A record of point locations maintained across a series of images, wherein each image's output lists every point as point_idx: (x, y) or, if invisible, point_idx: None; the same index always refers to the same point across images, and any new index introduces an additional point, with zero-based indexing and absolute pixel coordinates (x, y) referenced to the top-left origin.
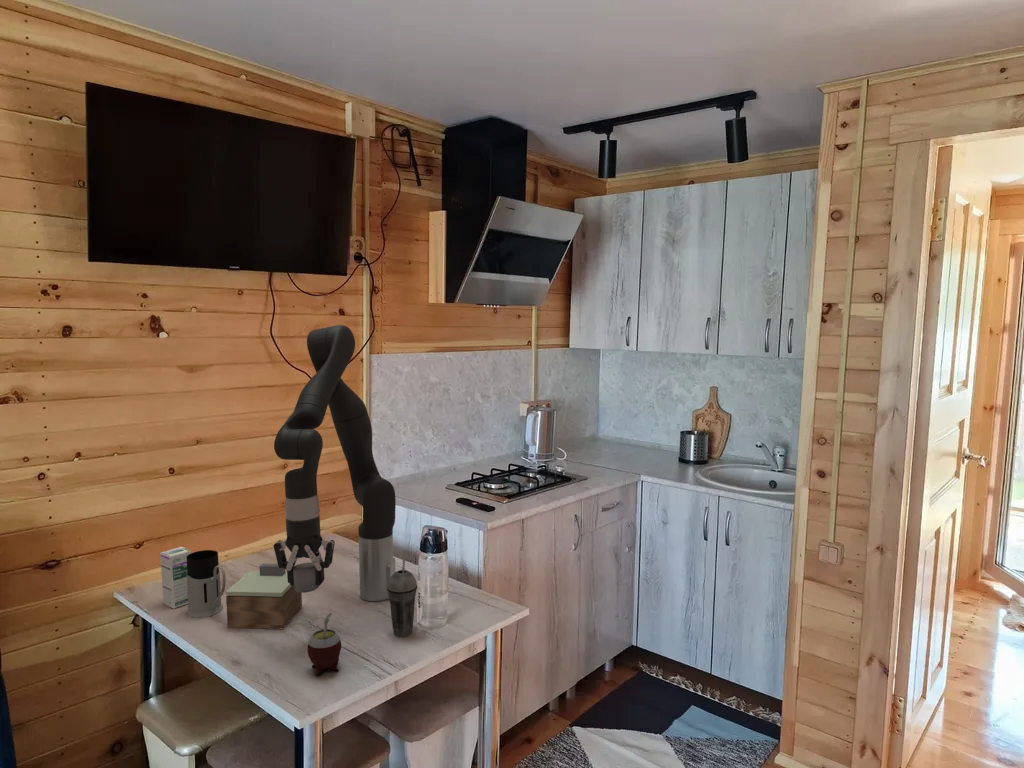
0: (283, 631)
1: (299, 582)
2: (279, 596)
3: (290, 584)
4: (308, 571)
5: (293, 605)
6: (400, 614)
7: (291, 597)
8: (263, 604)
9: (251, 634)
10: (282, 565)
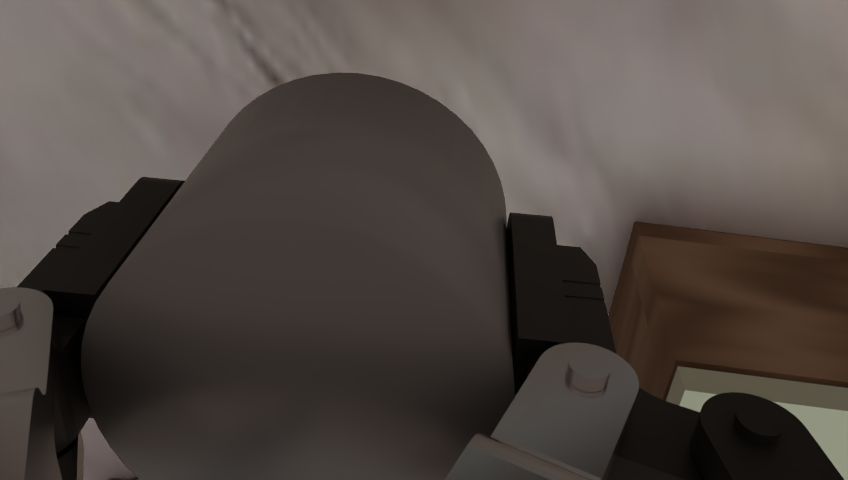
0: (626, 192)
1: (374, 135)
2: (697, 369)
3: (548, 218)
4: (168, 237)
5: None
6: None
7: None
8: (816, 341)
9: (840, 169)
10: (722, 427)
